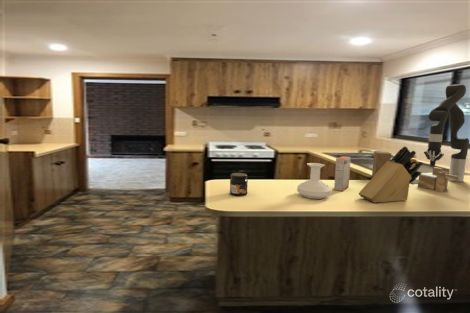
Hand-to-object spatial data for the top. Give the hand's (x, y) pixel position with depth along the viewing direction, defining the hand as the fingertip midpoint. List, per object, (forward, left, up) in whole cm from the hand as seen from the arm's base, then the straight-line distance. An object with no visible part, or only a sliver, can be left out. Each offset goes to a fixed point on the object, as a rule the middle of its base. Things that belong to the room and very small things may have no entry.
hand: (432, 166), depth 209 cm
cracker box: (+62, -17, -15) cm, 66 cm away
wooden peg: (0, +11, -6) cm, 13 cm away
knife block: (+51, +11, -15) cm, 55 cm away
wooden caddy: (-3, +2, -15) cm, 16 cm away
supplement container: (+132, -26, -15) cm, 135 cm away
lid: (-3, 0, -8) cm, 9 cm away
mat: (-7, -18, -15) cm, 25 cm away
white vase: (+91, -8, -15) cm, 92 cm away
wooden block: (+7, -35, -15) cm, 39 cm away
